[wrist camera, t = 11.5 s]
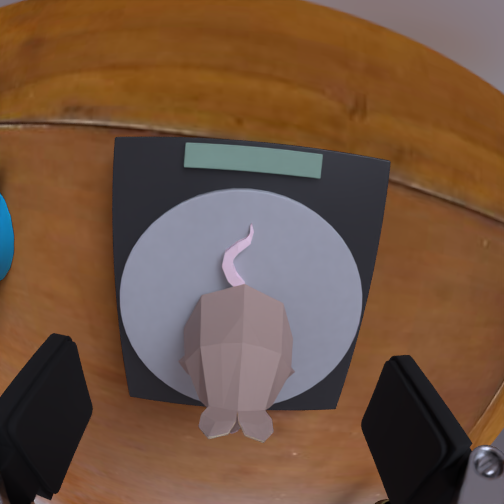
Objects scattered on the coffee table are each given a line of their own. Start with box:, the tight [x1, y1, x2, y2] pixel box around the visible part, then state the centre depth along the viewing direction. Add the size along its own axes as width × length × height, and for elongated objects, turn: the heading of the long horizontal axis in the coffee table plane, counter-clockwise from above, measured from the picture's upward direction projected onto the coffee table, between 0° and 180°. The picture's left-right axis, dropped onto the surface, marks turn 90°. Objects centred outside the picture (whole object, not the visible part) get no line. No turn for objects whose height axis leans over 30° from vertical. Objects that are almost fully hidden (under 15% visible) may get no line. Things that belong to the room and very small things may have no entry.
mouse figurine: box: [178, 223, 295, 443], centre depth 12 cm, size 5×8×7 cm, turn 173°
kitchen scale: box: [112, 137, 391, 410], centre depth 16 cm, size 15×13×3 cm
